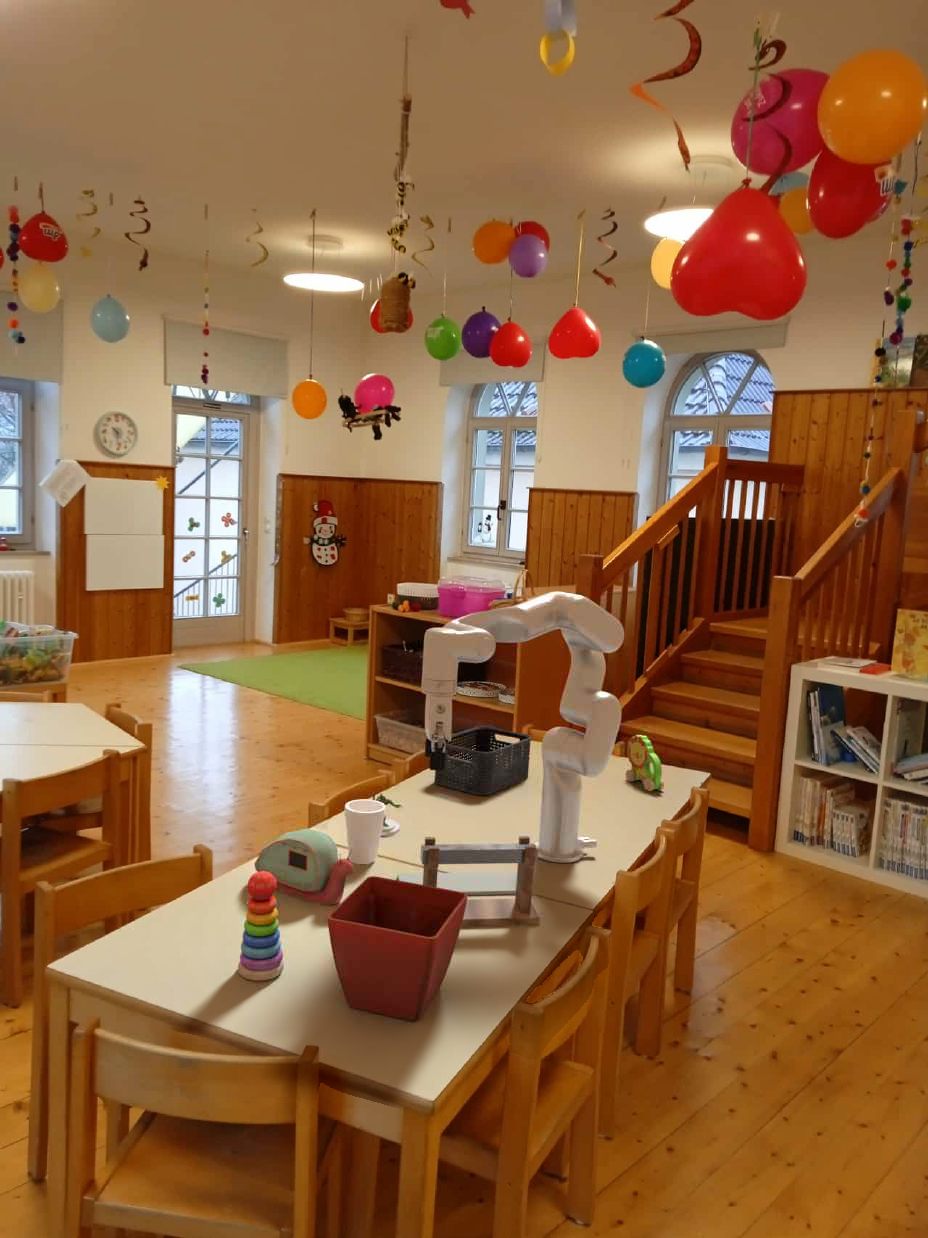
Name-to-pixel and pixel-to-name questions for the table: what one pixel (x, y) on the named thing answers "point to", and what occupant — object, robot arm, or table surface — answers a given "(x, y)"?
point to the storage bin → (484, 761)
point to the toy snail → (306, 866)
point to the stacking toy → (261, 931)
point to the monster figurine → (388, 824)
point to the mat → (471, 882)
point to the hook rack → (494, 909)
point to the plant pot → (395, 944)
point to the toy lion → (644, 763)
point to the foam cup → (364, 829)
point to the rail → (478, 853)
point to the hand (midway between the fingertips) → (434, 763)
